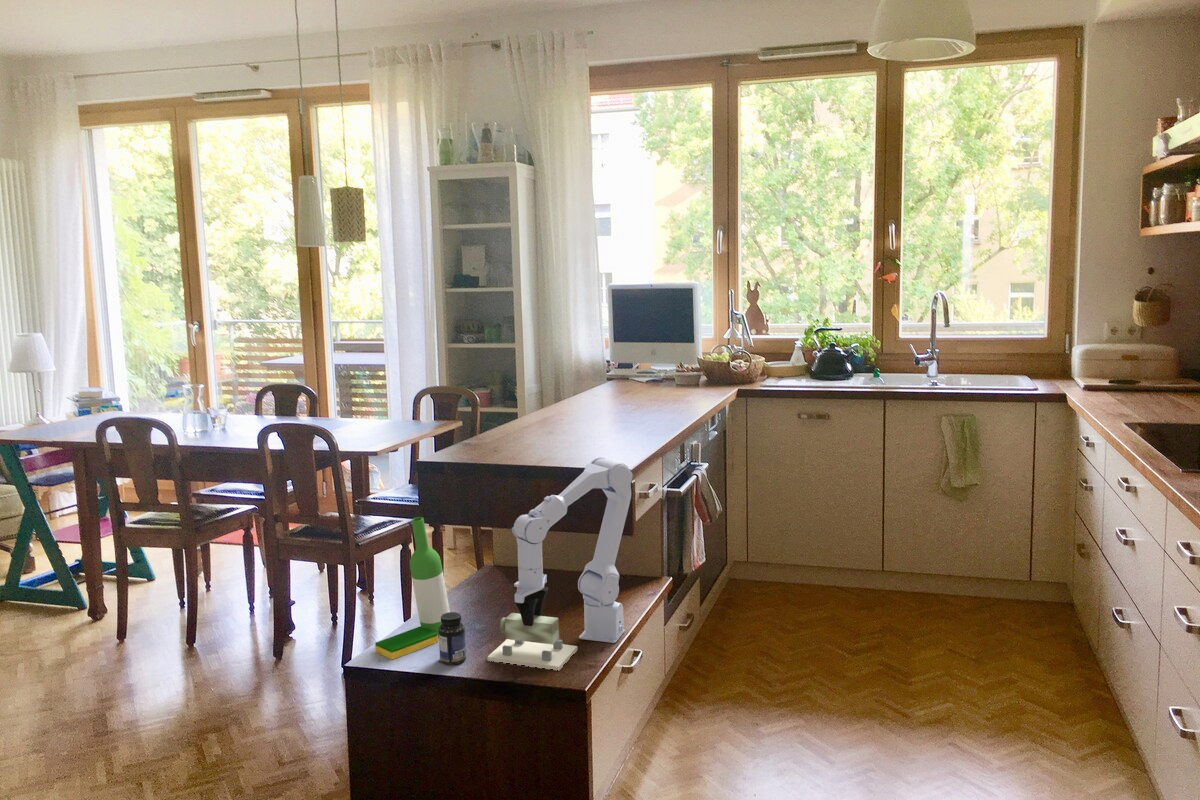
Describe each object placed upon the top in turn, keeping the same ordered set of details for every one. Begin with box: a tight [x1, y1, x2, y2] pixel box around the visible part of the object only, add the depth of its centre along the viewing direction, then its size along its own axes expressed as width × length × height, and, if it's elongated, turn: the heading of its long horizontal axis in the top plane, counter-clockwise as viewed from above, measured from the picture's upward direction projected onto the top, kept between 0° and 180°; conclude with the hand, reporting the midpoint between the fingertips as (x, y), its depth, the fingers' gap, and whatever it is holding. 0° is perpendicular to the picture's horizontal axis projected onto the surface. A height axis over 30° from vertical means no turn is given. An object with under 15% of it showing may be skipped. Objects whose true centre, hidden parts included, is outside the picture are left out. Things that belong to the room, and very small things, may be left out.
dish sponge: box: [374, 625, 439, 660], centre depth 238 cm, size 7×14×2 cm, turn 137°
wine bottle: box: [409, 516, 451, 635], centre depth 243 cm, size 8×8×30 cm
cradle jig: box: [486, 638, 578, 672], centre depth 231 cm, size 18×12×3 cm, turn 71°
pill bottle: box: [438, 611, 467, 666], centre depth 229 cm, size 6×6×11 cm
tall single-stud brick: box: [498, 612, 560, 645], centre depth 231 cm, size 14×4×5 cm, turn 71°
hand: (532, 621), depth 230 cm, fingers closed on tall single-stud brick, 4 cm apart
